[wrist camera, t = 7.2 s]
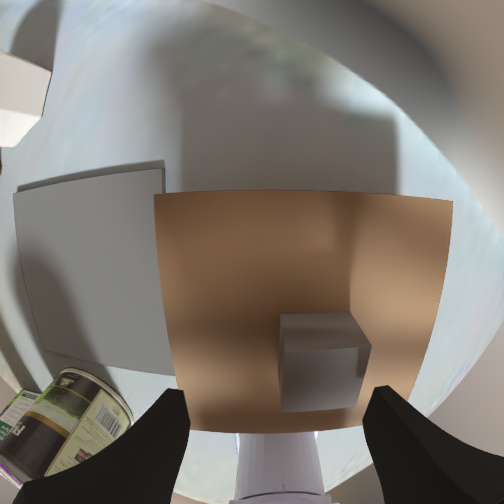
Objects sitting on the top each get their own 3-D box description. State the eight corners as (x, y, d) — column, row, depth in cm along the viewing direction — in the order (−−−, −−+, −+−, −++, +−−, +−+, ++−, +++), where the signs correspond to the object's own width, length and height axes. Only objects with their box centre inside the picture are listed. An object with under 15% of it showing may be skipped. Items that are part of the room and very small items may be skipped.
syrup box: (42, 392, 23) (-13, 459, 9) (64, 424, 25) (20, 491, 11) (22, 388, 24) (-29, 445, 10) (42, 418, 25) (0, 476, 11)
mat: (184, 372, 21) (182, 376, 20) (47, 347, 21) (44, 350, 21) (164, 168, 17) (161, 168, 16) (17, 193, 17) (13, 193, 17)
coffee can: (51, 391, 23) (-5, 461, 9) (69, 351, 21) (-12, 439, 7) (116, 442, 24) (77, 523, 11) (150, 414, 22) (103, 525, 9)
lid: (396, 410, 15) (415, 447, 12) (190, 421, 16) (178, 464, 12) (444, 200, 12) (492, 207, 8) (159, 193, 12) (120, 197, 9)
